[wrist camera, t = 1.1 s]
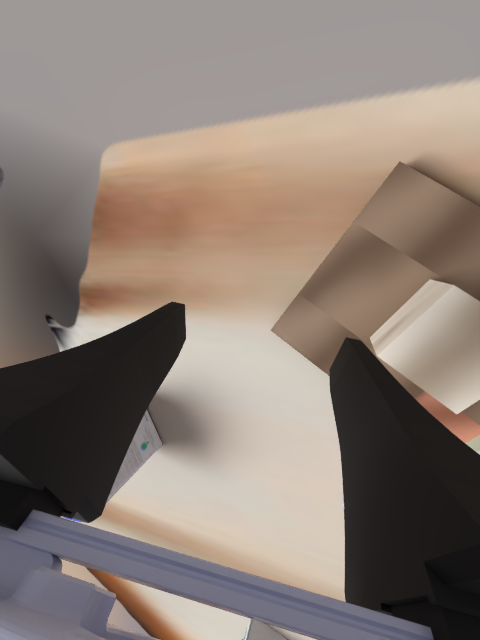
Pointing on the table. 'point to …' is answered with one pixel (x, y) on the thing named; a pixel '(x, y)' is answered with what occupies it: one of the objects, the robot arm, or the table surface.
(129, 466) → the ink cartridge box
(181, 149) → the table surface
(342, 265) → the trap board
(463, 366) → the birch block
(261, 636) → the warehouse
